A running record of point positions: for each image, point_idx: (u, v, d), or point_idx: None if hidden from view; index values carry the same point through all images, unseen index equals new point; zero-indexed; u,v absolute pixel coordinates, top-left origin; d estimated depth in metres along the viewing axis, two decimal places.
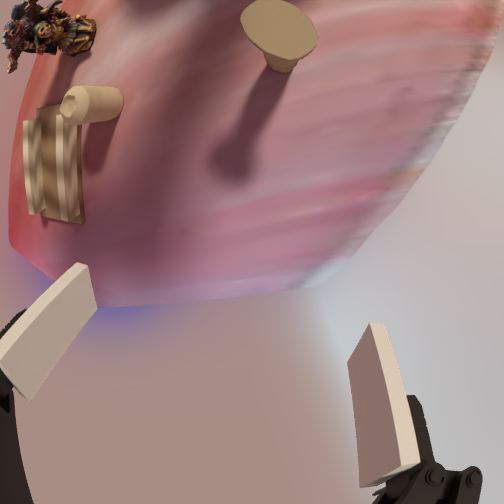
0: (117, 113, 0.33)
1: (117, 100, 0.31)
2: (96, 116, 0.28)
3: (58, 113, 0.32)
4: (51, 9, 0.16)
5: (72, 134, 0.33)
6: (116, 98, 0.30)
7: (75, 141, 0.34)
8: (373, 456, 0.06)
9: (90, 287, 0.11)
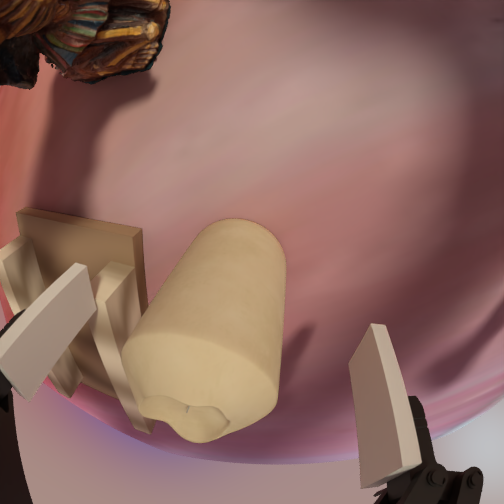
0: None
1: None
2: None
3: (74, 249, 0.15)
4: None
5: (133, 322, 0.16)
6: (285, 283, 0.13)
7: None
8: (374, 457, 0.06)
9: (89, 287, 0.11)
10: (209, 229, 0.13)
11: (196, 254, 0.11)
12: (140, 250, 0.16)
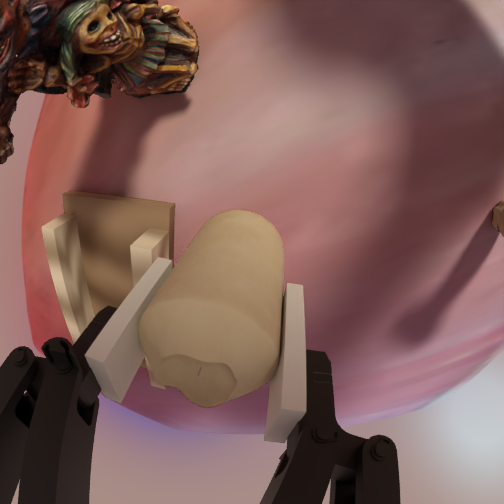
0: None
1: None
2: None
3: (118, 220, 0.22)
4: None
5: None
6: (283, 267, 0.15)
7: None
8: (272, 405, 0.08)
9: None
10: (214, 219, 0.15)
11: (205, 238, 0.12)
12: (172, 219, 0.22)
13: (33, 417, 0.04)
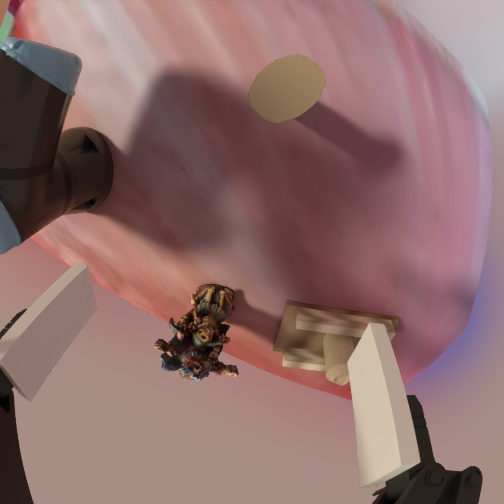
0: None
1: None
2: None
3: (290, 327, 0.47)
4: (179, 328, 0.38)
5: (319, 314, 0.44)
6: None
7: (326, 311, 0.44)
8: (373, 456, 0.06)
9: (90, 287, 0.11)
10: None
11: (337, 343, 0.43)
12: (294, 303, 0.46)
13: None
